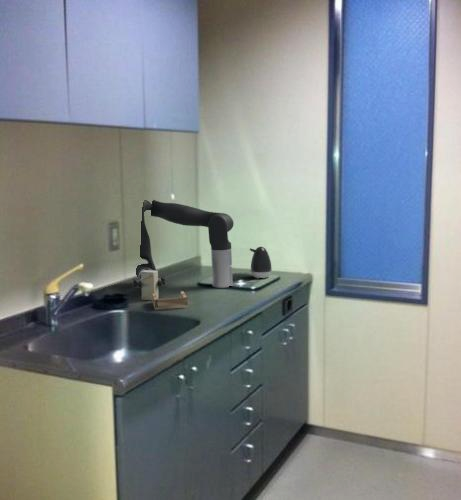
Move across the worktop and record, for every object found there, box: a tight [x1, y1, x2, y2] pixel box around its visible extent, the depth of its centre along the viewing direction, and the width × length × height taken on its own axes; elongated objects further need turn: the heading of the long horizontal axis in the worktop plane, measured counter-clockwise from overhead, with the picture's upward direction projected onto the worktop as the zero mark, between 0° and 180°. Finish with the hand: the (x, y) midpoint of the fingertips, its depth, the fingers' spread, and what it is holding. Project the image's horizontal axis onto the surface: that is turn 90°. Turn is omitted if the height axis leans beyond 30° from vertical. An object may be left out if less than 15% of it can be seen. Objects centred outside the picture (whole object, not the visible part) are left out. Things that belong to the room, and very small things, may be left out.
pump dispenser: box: [249, 246, 273, 279], centre depth 307 cm, size 10×10×15 cm
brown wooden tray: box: [151, 290, 189, 311], centre depth 258 cm, size 13×13×4 cm
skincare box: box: [140, 270, 160, 301], centre depth 269 cm, size 6×4×12 cm
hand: (150, 284), depth 267 cm, fingers closed on skincare box, 7 cm apart
